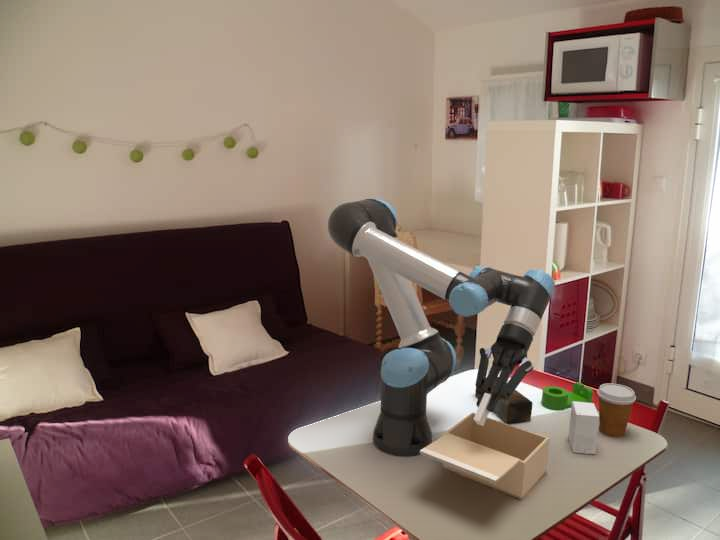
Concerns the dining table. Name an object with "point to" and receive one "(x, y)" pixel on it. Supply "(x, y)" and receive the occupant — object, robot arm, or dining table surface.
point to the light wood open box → (508, 442)
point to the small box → (583, 427)
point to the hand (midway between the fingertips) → (478, 422)
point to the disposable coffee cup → (614, 408)
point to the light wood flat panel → (470, 457)
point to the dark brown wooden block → (512, 407)
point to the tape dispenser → (565, 396)
